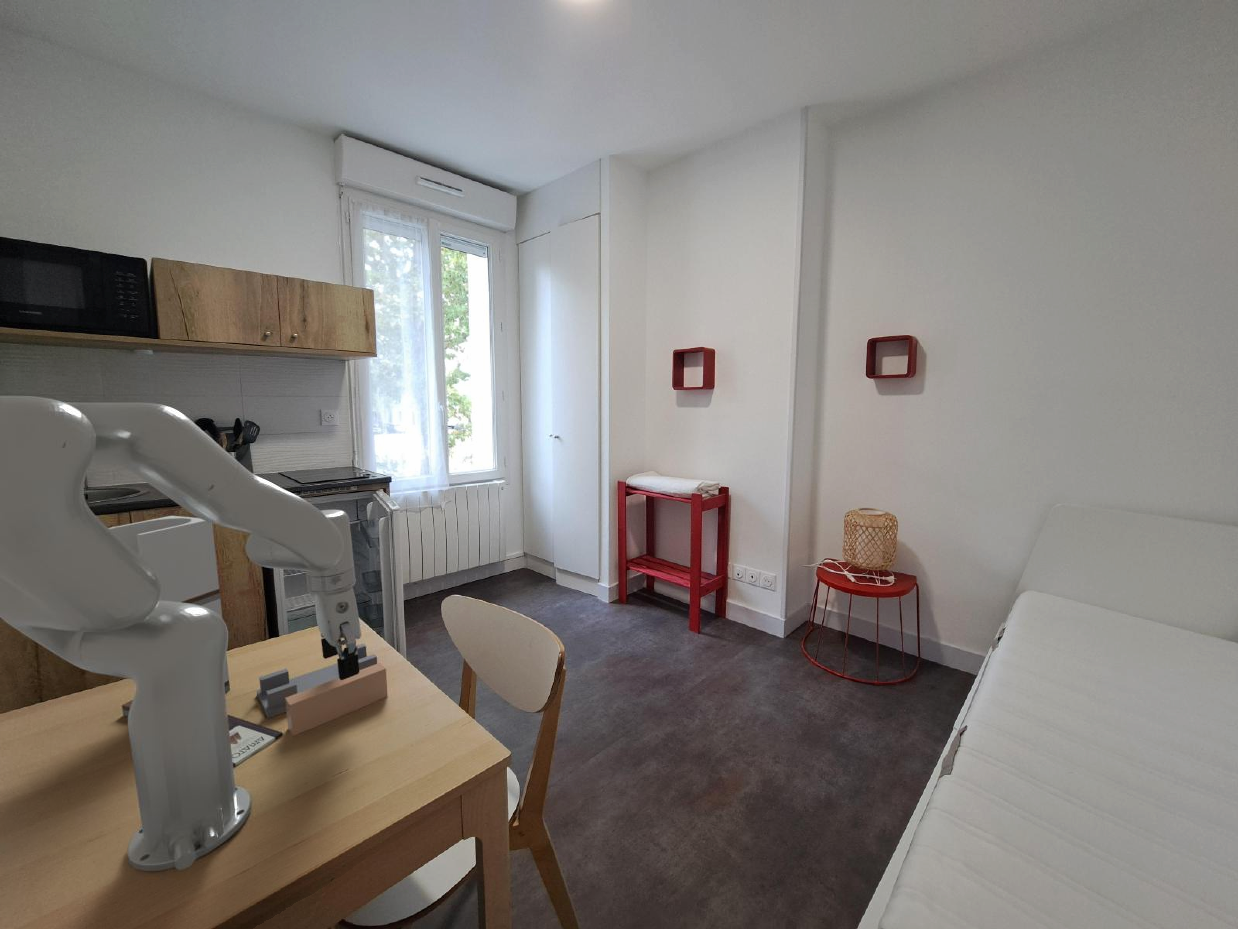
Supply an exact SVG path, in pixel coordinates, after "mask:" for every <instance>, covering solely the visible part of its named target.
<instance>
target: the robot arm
mask: <svg viewBox="0 0 1238 929" xmlns="http://www.w3.org/2000/svg"><path fill="white" fill-rule="evenodd" d="M92 470H94V471H95V470H109V471H110V470H111V471H128V472H130V473H132V474H133V475H135V476H137V477H138V478H140V479H141V480H143V481H144V482H145V483H147V484H149V485H150V486H151V487H152V488H155V489H156V490H157V491H159V492H160V493H162V494H163V495H165V496H166V497H168V498H169V499H170V500H171V501H173V502H175V503H176V504H177V505H179V506H180V507H181V508H182V509H184V510H186V511H187V512H188V513H189V514H192V515H193V516H194V517H195V518H200V519H203V520H205V521H208V522H211V523H212V524H214V525H217V526H221V527H224V528H227V529H233V530H237V531H241V532H245V533H248V534H250V535H249V536H248V538H247V540H246V543H245V552H246V553H245V554H246V555H247V557H248V559H249V560H250V561H251V562H252V563H254V564H256V566H261V567H264V568H269V569H278V570H291V571H304V572H305V576H306V577H305V579H306V585H307V592H308V594H310V595H313V596H314V605H315V606H314V607H315V608H314V609H315V616H316V624H317V628H318V631H319V632H320V637H321V639H320V641H321V650H322V657H323V659H325V660H327V659H329V658H332V657H334V656H335V657H336V656H338V658H336V659H337V660H336V664H337V663H338V672H339V679H340V680H344V679H347V678H349V677H352V676H354V675H357V674H359V662H358V652H357V646H358V645H357V641H356V640H360V639H361V638H362V630H361V624H360V616H359V610H358V605H357V598H356V595H355V591H354V586H355V585H356V583H357V582H356V573H355V564H354V552H353V543H352V542H353V540H352V534H351V532H352V531H351V524H350V523H351V522H350V517H349V515H348V514H347V512H346V511H344V510H341V509H323V510H320V509H319V508H318V507H316V506H314V505H313V504H312V503H310V502H308V501H307V500H305V499H304V498H302V497H300V496H298V495H296V494H294V493H292V492H290V491H288V490H286V489H284V488H283V487H280V486H279V485H276V484H274V483H273V482H271V481H269V480H266V479H264V478H262V477H261V476H258V475H256V474H254V473H252V472H251V471H250V470H249V469H247V468H246V467H245V466H243V464H241V463H240V462H239V461H238V460H237V459H236V458H234V457H233V456H232V455H231V454H230V453H229V452H228V451H226V449H224V448H223V447H222V446H221V445H219V444H218V443H217V442H216V441H215V440H214V439H213V438H212V437H211V436H210V435H208V433H206V432H205V431H204V430H202V429H201V427H200V426H198V425H197V424H196V423H195V422H193V420H192V419H190V418H189V417H188V416H186V415H185V414H183V413H182V412H180V410H177V409H175V408H173V407H171V406H167V405H166V404H165V405H164V404H160V403H154V402H153V403H152V402H73V401H72V402H65V401H61V400H57V399H54V398H48V397H41V396H33V395H30V396H29V395H0V618H1V619H2V620H3V621H4V622H5V623H6V624H8V625H10V626H11V627H12V628H13V629H15V630H17V631H18V632H19V633H21V634H23V635H24V636H25V637H28V638H29V639H31V640H32V641H34V642H35V643H37V644H38V645H41V646H42V647H43V648H45V649H47V650H49V652H52V653H53V654H54V655H56V656H58V657H59V658H61V659H62V660H65V661H66V662H68V663H70V664H71V665H73V666H75V667H78V668H79V669H82V670H84V671H87V672H90V673H95V674H100V675H105V676H106V675H108V676H113V677H119V678H123V679H127V680H132V681H134V683H135V687H136V689H135V694H134V697H133V699H132V700H133V702H132V704H131V707H130V710H129V715H128V717H127V727H128V728H127V730H128V737H129V738H128V739H129V742H130V743H129V745H130V749H131V757H132V762H133V763H132V766H133V770H134V771H133V772H134V779H135V785H136V793H137V801H138V808H139V816H140V822H141V826H140V827H139V829H138V830H137V831H136V832H134V835H133V836H132V838H131V839H130V841H129V842H128V843H129V844H128V847H127V858H128V863H129V864H130V866H131V867H132V868H134V869H136V870H139V871H141V872H142V871H144V872H158V871H160V872H161V871H165V870H169V869H174V868H176V869H177V870H178V871H179V870H185V869H187V868H189V867H190V866H192V865H193V863H194V862H195V861H196V860H197V859H198V858H200V857H203V856H204V855H206V854H209V853H210V852H211V851H213V850H214V849H216V848H217V847H219V846H221V845H222V844H223V843H224V842H226V841H227V840H228V839H230V838H231V837H232V836H233V835H234V834H235V833H236V832H237V831H238V830H239V829H240V828H241V827H242V826H243V824H244V823H245V822H246V820H247V819H248V818H249V816H250V812H251V811H252V796H251V793H250V792H249V791H248V790H247V789H245V788H244V787H241V786H239V785H238V786H237V785H236V781H235V770H234V767H233V761H232V752H231V742H230V733H229V724H228V715H229V714H228V707H227V699H226V692H225V685H224V668H225V659H226V656H227V651H228V645H229V644H228V643H229V631H228V627H227V624H226V622H225V621H224V619H223V617H222V618H221V616H219V615H218V614H217V613H216V612H214V611H212V610H211V609H208V608H206V607H203V606H199V605H195V604H190V603H181V602H172V601H160V599H161V595H162V585H161V581H160V578H159V576H158V574H157V573H156V571H155V570H154V569H153V568H152V567H151V566H150V565H149V564H148V563H147V562H146V561H145V560H144V559H143V558H142V557H140V556H139V555H138V554H137V553H136V552H135V551H133V550H132V549H131V548H130V547H129V546H128V545H127V544H125V543H124V542H123V541H122V540H121V539H120V538H119V537H118V536H116V535H115V534H114V533H113V532H112V531H111V530H110V529H109V528H110V527H108V526H107V525H105V524H104V523H103V521H101V520H100V519H99V517H98V516H97V515H95V513H94V512H93V511H92V509H90V507H89V505H88V504H87V502H86V498H85V495H84V494H85V493H84V492H85V491H84V486H85V480H86V477H87V474H88V471H92ZM342 646H345V647H344V648H343V647H342ZM342 650H343V651H342Z"/></svg>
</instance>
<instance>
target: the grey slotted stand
mask: <svg viewBox="0 0 1238 929" xmlns="http://www.w3.org/2000/svg"><path fill="white" fill-rule="evenodd" d="M366 645H367V644H366ZM366 645H365V643H361V644H358V645H356V646H357V652H358V662H359V670H362V669H364V668H367V667H370V666H373V665H375V664H378V657H377V655H376V654H375V653H373V654H371V655H367V646H366ZM343 650H344V649H342V651H343ZM258 678H259V687H260V689H257V690H256V696H257V698H258V700H259V703H260V705H261V707H262V709H263V711H264V713H265V716H266V717H267V719H270V718H273V717H276V716H279V715H280V714H283V713H285V712H286V713H287V711H286V700H285V698H286V697H289V696H292V695H294V694H297V693H300V692H302V691H305V690H308V689H311V688H313V687H316V686H319V685H321V684H324V683H327V682H329V681H332V680H335V679H338V678H339V672H338V663H337V662H336V663H334V664H331V665H328V666H326V667H322V668H319V669H317V670H314V671H311V672H308V673H304V674H302V675H298V676H295V677H293V678H290V674H289V670H288V668H284V669H281V670H277V671H275V672H272V673H269V674H266V675H265V674H264V675H263V676H259V677H258Z"/></svg>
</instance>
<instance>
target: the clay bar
mask: <svg viewBox="0 0 1238 929" xmlns="http://www.w3.org/2000/svg"><path fill="white" fill-rule="evenodd" d="M387 680H388V679H387V668H386V667H385V666H384V665H383V664H382V663H381V662H377V664H375V665H373V666H370V667H367V668H364V669H362V670H359V674H357V675H354V676H352V677H349V678H347V679H344V680H340V679H339V678H338V679H335V680H332V681H329V682H327V683H324V684H321V685H319V686H316V687H313V688H311V689H308V690H305V691H302V692H300V693H297V694H294V695H292V696H289V697H286V698H285V700H286V720H287V729H288V730H289V732H290V734H291V736H292V737H294V736H296V735H298V734H301V733H304V732H306V731H309V730H312V729H314V728H316V727H317V726H321V725H322V724H325V723H327V722H331V721H332V720H335V719H336V718H337V719H338V718H340V717H341V716H340V715H342V716H344V715H347V714H348V712H349V713H352V712H353V710H354V711H356V710H358V709H357V708H359V709H361V708H363V707H364V706H365V705H366V706H368V705H370V704H372V702H373V703H375V702H377V701H380V700H382V699H385V698H387V697H388V696H389V695H388V683H387ZM360 707H361V708H360ZM346 713H347V714H346ZM339 716H340V717H339Z"/></svg>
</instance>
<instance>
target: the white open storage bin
mask: <svg viewBox="0 0 1238 929" xmlns="http://www.w3.org/2000/svg"><path fill="white" fill-rule="evenodd" d="M213 527H214V526H213V523H211V522H208V521H205V520H203V519H200V518H198V517H191V516H179V515H178V516H177V515H168V516H162V517H159V518H158V517H157V518H153V519H148V520H142V521H137V522H133V523H127V524H122V525H116V526H113V527H108V528H109V529H110V530H111V531H112V532H113V533H114V534H115V535H116V536H118V537H119V538H120V539H121V540H122V541H123V542H124V543H125V544H127V545H128V546H129V547H130V548H131V549H132V550H133V551H135V552H136V553H137V554H138V555H139V556H140V557H142V558H143V559H144V560H145V561H146V562H147V563H148V564H149V565H150V566H151V567H152V568H153V569H154V570H155V571H156V573H157V574H158V576H159V578H160V581H161V585H162V595H161V599H160V601H172V602H181V603H190V604H195V605H199V606H203V607H206V608H208V609H211V610H212V611H214V612H216V613H217V614H218V615H219V616H221V618H222V619H223V612H222V610H223V609H222V603H221V594H220V593H221V591H220V584H219V574H218V573H219V572H218V565H217V563H218V562H217V555H216V554H217V553H216V546H215V536H214V528H213ZM229 677H230V676H229V666H228V657H227V655H226V659H225V668H224V685H225V693H227V692H229V691H230V690H231V688H230V686H231V685H230V678H229ZM226 691H227V692H226ZM132 702H133V699H131V700H130V701H128V702H126V703H123V704H122V705H121V709H122V716H123V715H124V716H125V717H127V716H128V715H129V710H130V707H131V704H132ZM124 716H123V717H124Z"/></svg>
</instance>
